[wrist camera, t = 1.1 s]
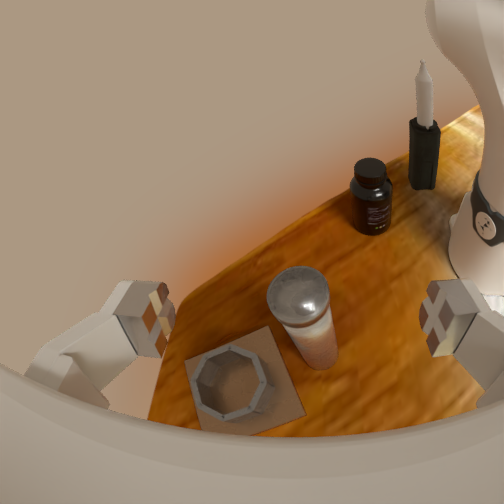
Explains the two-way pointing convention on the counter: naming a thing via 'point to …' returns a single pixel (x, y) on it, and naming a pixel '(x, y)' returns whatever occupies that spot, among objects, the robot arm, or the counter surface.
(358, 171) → the supplement bottle
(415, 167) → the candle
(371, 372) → the counter surface
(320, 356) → the grey tall capped cylinder
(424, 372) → the counter surface
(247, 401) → the duct collar
